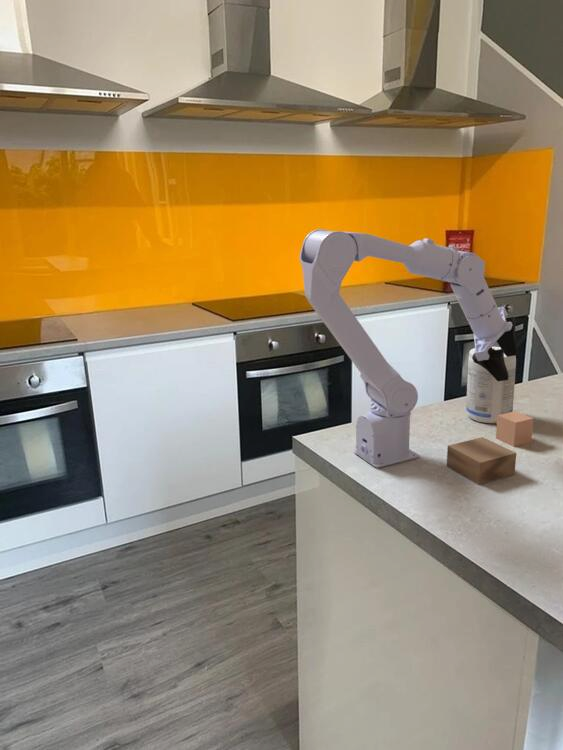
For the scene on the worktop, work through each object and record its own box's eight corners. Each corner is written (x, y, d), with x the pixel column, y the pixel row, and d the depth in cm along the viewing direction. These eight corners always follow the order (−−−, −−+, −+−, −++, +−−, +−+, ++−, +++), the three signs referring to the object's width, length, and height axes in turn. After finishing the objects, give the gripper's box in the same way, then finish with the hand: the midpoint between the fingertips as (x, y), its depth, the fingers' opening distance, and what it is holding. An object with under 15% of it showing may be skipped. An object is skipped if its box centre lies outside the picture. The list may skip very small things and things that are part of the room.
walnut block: (478, 484, 97) (480, 462, 96) (446, 466, 104) (447, 445, 103) (514, 474, 100) (516, 452, 99) (481, 457, 107) (482, 437, 106)
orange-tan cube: (513, 447, 111) (515, 422, 110) (495, 438, 115) (497, 415, 114) (531, 442, 113) (533, 418, 112) (513, 434, 117) (515, 411, 116)
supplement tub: (501, 408, 132) (506, 345, 127) (519, 423, 122) (525, 355, 118) (458, 410, 131) (462, 347, 127) (474, 426, 122) (478, 358, 118)
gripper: (490, 327, 99) (520, 388, 104) (511, 283, 108) (537, 341, 113) (453, 335, 104) (482, 393, 109) (475, 292, 113) (501, 347, 118)
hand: (507, 367), depth 112 cm, fingers open, 7 cm apart
